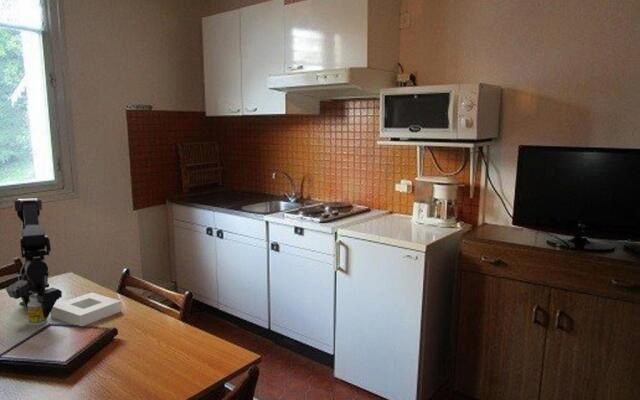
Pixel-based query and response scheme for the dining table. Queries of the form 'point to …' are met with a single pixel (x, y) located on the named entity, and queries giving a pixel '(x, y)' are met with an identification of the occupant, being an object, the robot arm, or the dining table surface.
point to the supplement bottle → (35, 311)
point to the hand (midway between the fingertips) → (37, 314)
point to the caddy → (85, 309)
